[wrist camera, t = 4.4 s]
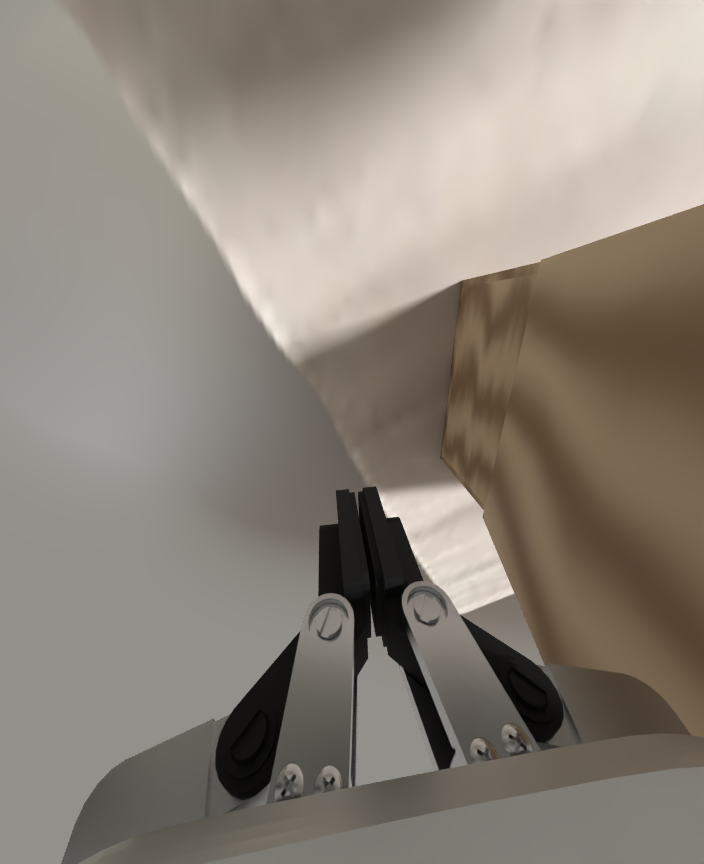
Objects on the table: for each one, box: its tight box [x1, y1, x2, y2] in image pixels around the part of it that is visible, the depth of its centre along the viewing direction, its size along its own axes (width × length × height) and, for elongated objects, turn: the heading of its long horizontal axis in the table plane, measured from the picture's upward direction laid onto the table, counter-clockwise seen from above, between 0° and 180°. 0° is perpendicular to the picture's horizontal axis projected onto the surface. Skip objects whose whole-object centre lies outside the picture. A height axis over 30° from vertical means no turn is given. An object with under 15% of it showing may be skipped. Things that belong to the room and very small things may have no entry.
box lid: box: [483, 204, 704, 737], centre depth 12 cm, size 20×16×1 cm
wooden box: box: [441, 262, 540, 510], centre depth 25 cm, size 20×16×11 cm
